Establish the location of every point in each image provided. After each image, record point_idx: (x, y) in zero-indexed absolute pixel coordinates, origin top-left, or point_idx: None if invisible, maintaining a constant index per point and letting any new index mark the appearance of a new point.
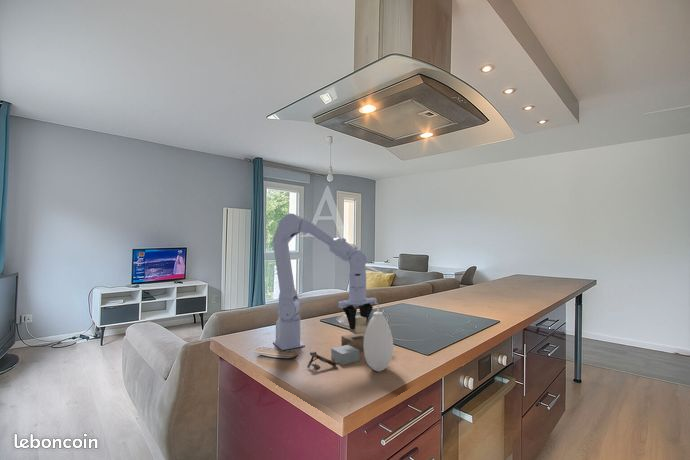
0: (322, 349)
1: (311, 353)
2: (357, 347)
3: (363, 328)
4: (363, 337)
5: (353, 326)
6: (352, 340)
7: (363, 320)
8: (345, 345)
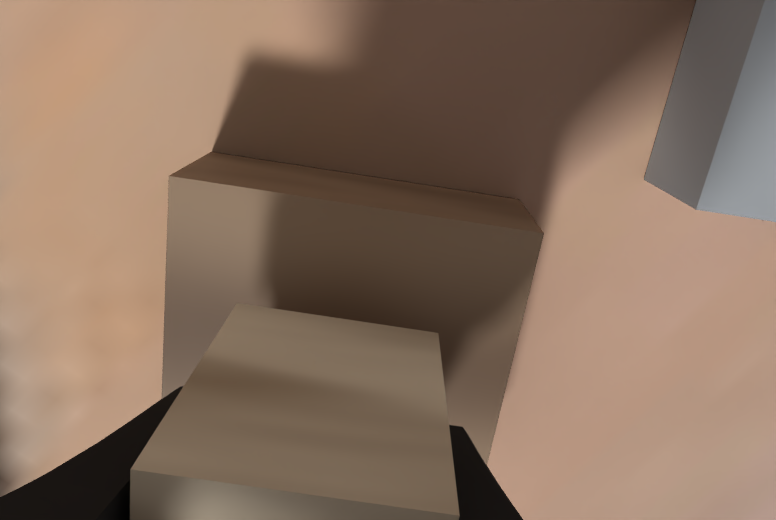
0: (706, 476)
1: None
2: (481, 205)
3: (282, 350)
4: (284, 308)
5: (474, 450)
6: (507, 307)
7: (246, 441)
8: (750, 210)
